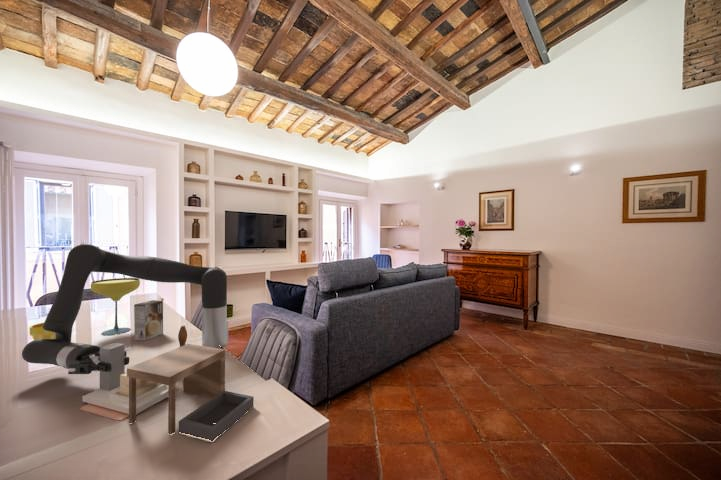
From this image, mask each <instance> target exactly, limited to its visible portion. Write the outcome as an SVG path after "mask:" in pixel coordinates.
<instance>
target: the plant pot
mask: <svg viewBox="0 0 721 480" xmlns="http://www.w3.org/2000/svg"><path fill="white" fill-rule="evenodd" d="M43 324H44V322H39V323H35V324H32V325H31V326H29V336H32V339H33V341H34V340H37V339H56V334H55V332H51V331H46V330H44V329H43Z"/></svg>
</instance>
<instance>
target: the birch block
mask: <svg viewBox="0 0 721 480" xmlns="http://www.w3.org/2000/svg"><path fill="white" fill-rule="evenodd" d="M156 387H157V383H155V382H150V381H146V380H141V379H137V378H136V398H137V397H139V396H140V395H142V394H144V393H146V392H148V391H150V390H152V389H154V388H156ZM120 395H121V396H125V397H129V377H127V371H126V372H125V373H124V374H121V375H120Z"/></svg>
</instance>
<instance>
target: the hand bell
mask: <svg viewBox="0 0 721 480" xmlns="http://www.w3.org/2000/svg"><path fill="white" fill-rule="evenodd" d="M177 337H178V338H177V339H178V343H179V347H181V346H184V345H186V342H187V339H188V331H187V329H186V326H185V325H182V326H180V329H179V331H178V334H177Z"/></svg>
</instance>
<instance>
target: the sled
mask: <svg viewBox="0 0 721 480" xmlns="http://www.w3.org/2000/svg"><path fill="white" fill-rule="evenodd" d="M99 347H100V346H99ZM125 347H126V345H125V344H124V343H118V342H114V343H111V344H110V343H109V344H106V345H103V346H101V347H100V363H101V362H105V363H110V364H111V371H109V372H103V371H99V389H96V390H93V391H92V392H89V393H87V394H85V395H82V402H83V403H86V404H94V405H97V406H101V407H105V408H108V409H112V410H116V411H119V412H123V413H127V414H129V397H125V396H121V395H120V375H121V374H124V373H126V372H125V366H126V365H125V351H126V350H125ZM177 388H178V385H176V392H178V389H177ZM167 398H168V385H164V384H160V383H157V387H156V388H154V389H152V390H150V391H148V392H146V393H144V394H142V395H140V396H139V397H137V398H136V415H137V414H140V413H141V412H143V411H145V410H146V409H149V408H150V407H152V406H154V405H155V404H157V403H158V402H161V401H162V400H164V399H167Z"/></svg>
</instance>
